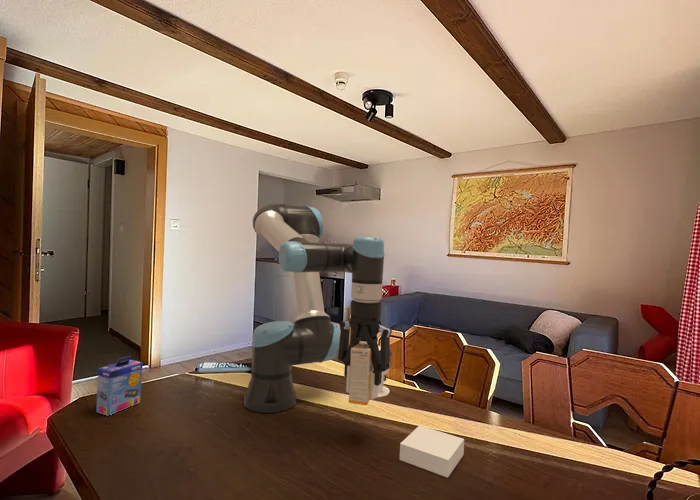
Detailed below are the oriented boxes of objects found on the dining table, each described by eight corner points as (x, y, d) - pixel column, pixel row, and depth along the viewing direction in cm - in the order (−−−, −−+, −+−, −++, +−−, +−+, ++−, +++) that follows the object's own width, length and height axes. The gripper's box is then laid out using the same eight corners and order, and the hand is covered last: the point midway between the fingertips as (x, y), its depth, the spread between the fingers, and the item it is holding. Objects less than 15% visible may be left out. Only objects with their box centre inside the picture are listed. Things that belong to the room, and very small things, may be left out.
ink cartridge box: (108, 417, 99) (110, 362, 99) (94, 413, 101) (96, 359, 101) (142, 403, 108) (143, 353, 108) (128, 400, 110) (130, 350, 110)
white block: (399, 461, 84) (400, 443, 84) (419, 441, 93) (419, 425, 93) (447, 479, 78) (448, 460, 78) (463, 456, 87) (464, 439, 87)
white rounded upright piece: (398, 393, 123) (399, 347, 123) (373, 401, 116) (374, 352, 116) (372, 382, 132) (374, 339, 132) (348, 389, 125) (349, 344, 125)
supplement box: (368, 406, 88) (370, 350, 88) (348, 403, 89) (350, 348, 89) (374, 393, 96) (376, 342, 96) (356, 390, 97) (358, 340, 97)
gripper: (325, 297, 94) (321, 389, 94) (394, 306, 84) (389, 410, 84) (342, 294, 100) (338, 380, 100) (408, 303, 90) (403, 399, 90)
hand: (361, 393), depth 92 cm, fingers closed on supplement box, 6 cm apart
